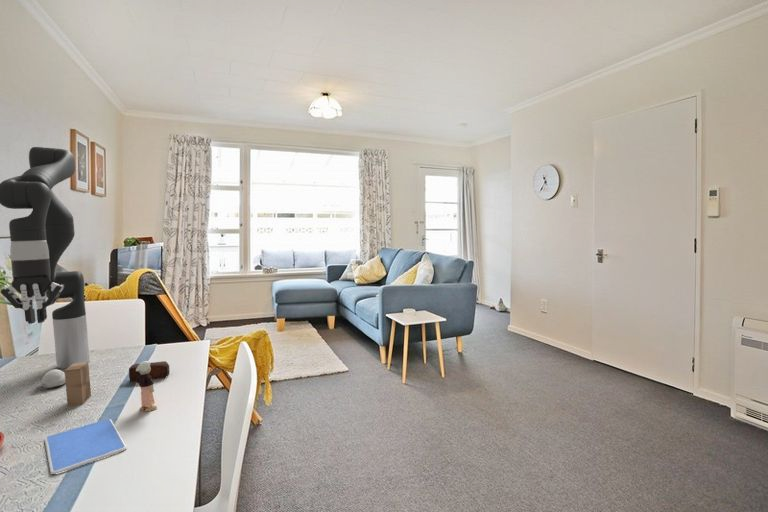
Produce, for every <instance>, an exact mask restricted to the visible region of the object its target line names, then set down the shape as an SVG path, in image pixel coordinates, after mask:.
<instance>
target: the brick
mask: <svg viewBox="0 0 768 512" xmlns="http://www.w3.org/2000/svg"><path fill="white" fill-rule="evenodd" d="M139 364H140V363H134V364H131V366H130V367H129V368H128V377H129V382H131V383H134V382H135V383H136V379H137V378H138V376H140V375H141V374H140V372H139V371H138V372H137V371H136V369H137V367H138V365H139ZM150 368H151V371H150V372H149V373H148V374H149V375H150V376H151V377H152V380H157V378H159V379H164V378H163V377H166V376H167V377H168V375H170V365H169V363H168V362H167V361H165V360H163V361H155V362H150ZM167 377H166V378H167Z"/></svg>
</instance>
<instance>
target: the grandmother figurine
mask: <svg viewBox="0 0 768 512" xmlns="http://www.w3.org/2000/svg"><path fill="white" fill-rule="evenodd" d="M150 363H151V362H150V361H148V360H143V361H141V362H140V363H138V364H139V365H138V367H137V369H136V371H137V372H138V371H139V372H140V374H141V375H140V376H138V378H137V379H136V381H135V387H136V388H138V387H140V396H141V397H140V398H141V400H140V402H141V403H140V405H141V406H140V407H139V410H140V411H144V412H145V413H147V411H148V412H152V411H155V410H157V409H158V407H157V405H155V402H156V401H155V396H154V392H155V389H154V387H155V386H154V382H153V379H152V377H151V376H150V375H149V374H148V373H149V372H150V371H151V368H150ZM156 408H157V409H156ZM144 409H145V410H144ZM154 409H155V410H154ZM151 410H152V411H151Z"/></svg>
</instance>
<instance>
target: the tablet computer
mask: <svg viewBox="0 0 768 512" xmlns="http://www.w3.org/2000/svg"><path fill="white" fill-rule="evenodd" d="M44 444H45V450H46V454H47V460H48V465H49V471H50V475H51V474H56V473H59V472H62V471H65V470H69V469H72V468H74V467H77V466H80V465H83V464H86V463H88V462H92V463H94V462H93V461H95V462H97V461H96V460H98V459H101V458H104V457H107V456H109V457H111V456H110V455H112V456H114V455H113V454H115V455H117V454H116V453H118V452H121V451H123V450H125V449H126V447H127V445H126V444H125V441H124V440H123V437H122V435H121V434H120V432H119V431H118V429H117V426H116V425H115V424H114V422H113V420H112V419H110V418H107V419H102V420H99V421H97V422H92V423H89V424H85V425H82V426H79V427H76V428H71V429H68V430H65V431H61V432H57V433H55V434H51V435H48V436H46V437H45V439H44ZM126 450H127V449H126ZM126 450H125V451H126ZM123 452H124V451H123ZM121 453H122V452H121ZM118 454H119V453H118ZM107 458H108V457H107ZM104 459H105V458H104ZM101 460H102V459H101ZM98 461H99V460H98ZM72 470H73V469H72ZM69 471H70V470H69Z"/></svg>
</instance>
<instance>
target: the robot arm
mask: <svg viewBox="0 0 768 512" xmlns="http://www.w3.org/2000/svg"><path fill="white" fill-rule="evenodd" d="M28 163H29V169H27V170H25V172H23V173H22V174H21V175H18V176H17V175H16V176H13V177H10V178H8V179H5V180H3V181H1V182H0V205H1V206H2V207H4V208H6V209H14V210H19V209H23V210H26V209H29V210H30V209H31V210H32V211H31V212H30V214H29V215H26V216H22V217H17V218H13V219H11V220H10V221H9V224H8V226H9V227H8V229H9V238H10V247H9V250H10V251H9V252H10V255H9V258H10V264H11V271H12V278H13V279H12V282H11V285H10V286H7V287H6V288H2V289H0V294H1V295H2V296H3V297H4V298H5V299H6V300H7V301H8V302H9V303H10V304H11V305H12V306H13V307H14V308H15V309H22V310H24V318H25V321H26V322H27V323H28V325H29V324H34V323H36V317H37V323H38V324H41V323H44V322H45V321H46V320H47V318H48V314H47V308H48V307H49V306H52V305H54V304H55V303H56V301H57V300H59V299H70V298H73V300H71V302H69V303H67V304H65V305H64V306H61V307H58V308H55V309H54V310H53V311H52V314H51V316H52V326H53V328H52V329H53V337H54V340H53V341H54V347H55V360H56V361H55V362H56V368H57V367H58V368H57V369H67V368H68V367H69V366H71V365H72V364H73V363H80V362H88V363H90V360H91V359H90V348H89V347H90V346H89V337H88V336H89V335H88V325H87V314H86V305H85V303H86V301H85V278H84V275H83V273H82V272H81V271H79V270H75V271H74V270H73V271H71V270H70V271H60V272H58V271H57V272H56V267H57V264H58V262H59V260H60V259H61V257H62V255H63V254H64V252H65V251H66V250H67V248H68V247H69V246H70V244H71V243H72V241H73V239H74V237H75V234H76V233H75V232H76V231H75V223H74V215H72V213H71V211H70V210H69V209H68V208H67V206H66V205H64V203H63V202H62V201H61V200H60V199H59V197H58V196H56V194H55V193H54V191H53V190H52V189H53V188H54V187H55V186H56V185H58V184H60V183H62V182H63V181H66V180H67V179H69V178H71V177H72V176H74V174H75V171H76V159H75V157H74V154H73V153H72V152H71V151H70V150H67V149H62V148H54V147H41V146H33V147H31V148H30V150H29V153H28ZM16 291H17V292H16ZM17 293H19V294H20V296H21V298H20V297H19V295H17ZM34 300H35V302H36V308H37V309H36V313H35V308H34Z"/></svg>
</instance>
